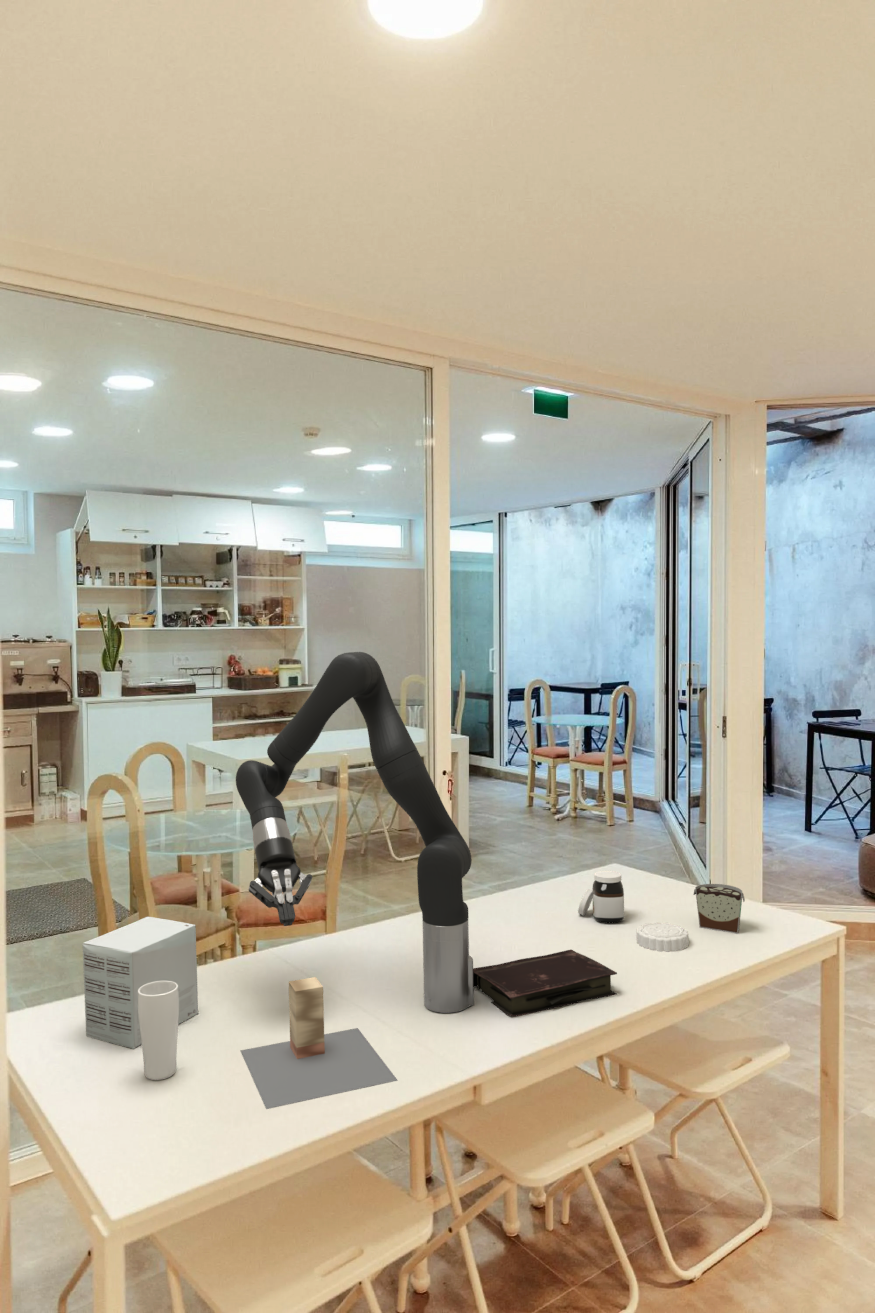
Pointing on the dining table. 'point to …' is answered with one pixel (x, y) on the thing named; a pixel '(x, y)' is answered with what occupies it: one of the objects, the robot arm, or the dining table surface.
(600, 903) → the spread jar
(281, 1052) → the rubber mat
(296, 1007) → the oak block
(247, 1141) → the dining table surface
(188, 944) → the supplement box
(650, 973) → the dining table surface
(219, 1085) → the dining table surface
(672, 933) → the mooncake
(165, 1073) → the drinking glass
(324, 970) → the dining table surface
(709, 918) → the food container
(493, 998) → the diary
